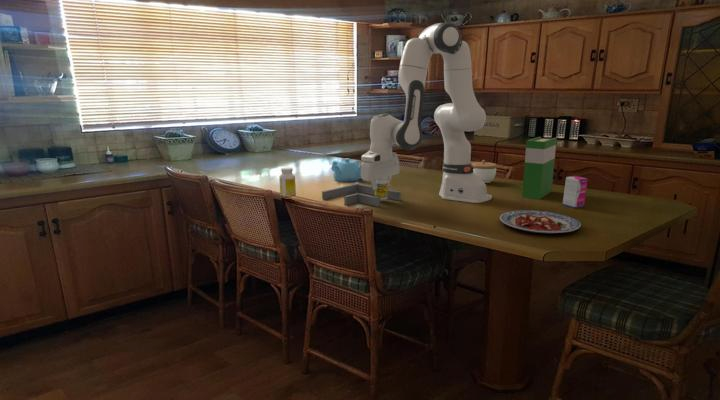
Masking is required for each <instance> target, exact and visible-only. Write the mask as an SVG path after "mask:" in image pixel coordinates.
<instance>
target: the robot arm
mask: <svg viewBox="0 0 720 400" xmlns="http://www.w3.org/2000/svg"><path fill="white" fill-rule="evenodd" d="M433 54H436V55H437V54H439V55H441V57H442V60H443V79H444V80H443V81H444V83H443V84H444V91H445V92H446V93H447V94H448V95H449V97H450V99H451V101H452V102H449V103H448V102H447V103H444V104H440V105H439V106H438V107H437V108H435V111H434V114H433V119H434V122H435V123H436V125H437V126H438V128H439V130H440V132H441V137H442V141H443V148H444V149H443V151H444V152H443V162H442V180H441V185H440V189H439V193H438V195H439V196H440V197H441V199H443V200H451V201H456V202H458V201H459V202H465V203H472V204H480V203H485V202H489V201H490V200H492V199H493V196H492V195H491V194H488V193H487V192H488V189H487V184H485V183H484V182H483V181H482V180H481V179H480V178H479V177H478V176H477V175H476V174H475V173H473V172H474V171H473V169H475V168H474V167H476V166H472V165H471V163H472V162H471V156H472V155H471V154H472V145H471V143H470V141H469V140H468V139H467V137H466V134H465V132H475V131H480V130H481V129H482V128H483V127H484V126H485V123H486V119H487V115H486V111H485V110H484V108H483V107H482V106H481V105H480V103H479V102H478V100H477V97H476V94H475V92H474V88H473V74H472V73H473V71H472V57H471V50H470V46H469V44H468V43H467V41H465V40H463V37H462V35H461V31H460V28H459V27H458V26H457V25H456V24H454V23H451V22H448V21H447V22H446V21H445V22H438V23H434V24H432V25H429V26H426V27H424V28H423V29H421V30H420V31H419V33H418V34H417V36H416V37H413V38H410V39H408V40H407V41H406V42H405V44H404V47H403V49H402V53H401V57H400V63H399V68H398V85H399V86H400V87H401V89H402V90H403V91H404V95H405V98H406V102H405V110H404V117H403V118H404V119H403V120H401V119H398V118H396V117H394V116H392V115H391V114H390V113H385V112H384V113H380V114H376V115H374V116H372V118H371V120H370V126H369V138H370V144H369V145H370V146H369V150H368V151H366V152H365V153H363V154H362V155H361V156H360V158H361V161H362V162H361V164H360V166H361V177H360V178H361V179H362V181H366V182H370V183H371V185H372V187H373V190H377V189H378V185H377V184H376V182H377V179H379V178H383V176H386V179H385V180H387V182H388V188H389V187H390V182H391V180H392V177H393V176H396V175H399V173H400V167H401V166H400V160H399V155H398V154H397V152H393V145H396V146H399V147H400V148H402V149H403V150H406V151H413V150H416V149H417V148H418V147H419V146H420V145H421V144H422V142H423V138H424V135H423V134H424V133H423V130H422V128H423V127H422V122H421V121H422V114H423V105H424V95H425V87H426V80H427V74H428V70H429V62H430V60H431V57H432V56H433Z"/></svg>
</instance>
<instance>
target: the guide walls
mask: <svg viewBox="0 0 720 400" xmlns="http://www.w3.org/2000/svg"><path fill="white" fill-rule="evenodd" d="M343 196H344V197H343ZM321 197H322V199H323V201H326V200H330V199H333V198H334V199H335V198H338V197H343V199H344V206H350V205H353V203H354V204H358V203H360V204H364V205H370V206H372V205H373V206H372V207H377V208H379V207H381V199H380V198H379V197H375V190H373V185H372V186H371V185H366V184H361V183H354V184H349V185H345V186H340V187H336V188H332V189H326V190H323V191H321ZM387 199H388V200H393V201H398V202H399V201H401V200H402V191H398V190H392V189H388V198H387Z"/></svg>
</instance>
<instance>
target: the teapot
mask: <svg viewBox="0 0 720 400" xmlns="http://www.w3.org/2000/svg"><path fill="white" fill-rule="evenodd" d="M330 169H331V170H332V172H333V175H332V176H333V178H334V179H335V180H336V181H337V182H341V183H342V182H343V183H350V182H356V181H359V180H360V178H361V165H360V160H359V159H358V160H355V161H354V160H351V159H350V158H348V157H347V158H344V160H341V161H338V160H332V165H331V168H330Z"/></svg>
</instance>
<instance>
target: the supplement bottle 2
mask: <svg viewBox="0 0 720 400" xmlns="http://www.w3.org/2000/svg"><path fill="white" fill-rule="evenodd" d="M376 184H377V185H378V189H377V190H375V197H379V198H380V200H386V199H388V190H389V187H388V182H387V180H386V176H383V178H379V179H377V182H376Z"/></svg>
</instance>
